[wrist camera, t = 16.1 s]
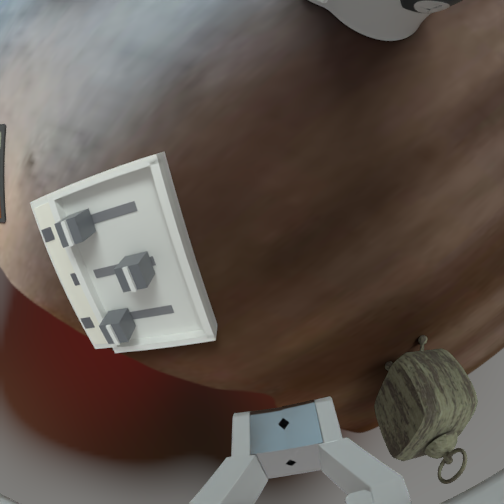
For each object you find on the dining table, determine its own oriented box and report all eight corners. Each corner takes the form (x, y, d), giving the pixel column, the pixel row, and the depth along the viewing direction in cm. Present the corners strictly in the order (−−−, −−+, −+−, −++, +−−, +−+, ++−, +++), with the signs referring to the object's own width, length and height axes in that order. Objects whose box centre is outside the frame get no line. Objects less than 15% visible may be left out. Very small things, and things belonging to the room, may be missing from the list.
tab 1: (69, 215, 33) (52, 225, 29) (88, 208, 33) (72, 217, 29) (76, 237, 34) (61, 249, 30) (96, 231, 34) (81, 243, 30)
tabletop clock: (404, 387, 49) (452, 492, 26) (363, 392, 49) (403, 509, 26) (432, 327, 44) (508, 437, 21) (387, 329, 43) (458, 460, 20)
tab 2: (124, 256, 35) (112, 270, 32) (147, 251, 35) (136, 265, 31) (132, 278, 36) (122, 294, 33) (155, 273, 36) (146, 289, 32)
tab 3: (108, 310, 38) (97, 327, 35) (127, 307, 38) (117, 325, 34) (117, 328, 39) (107, 346, 36) (136, 325, 39) (127, 343, 36)
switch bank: (38, 198, 34) (23, 205, 31) (164, 151, 33) (156, 154, 30) (99, 341, 43) (91, 355, 40) (217, 324, 42) (215, 340, 39)
